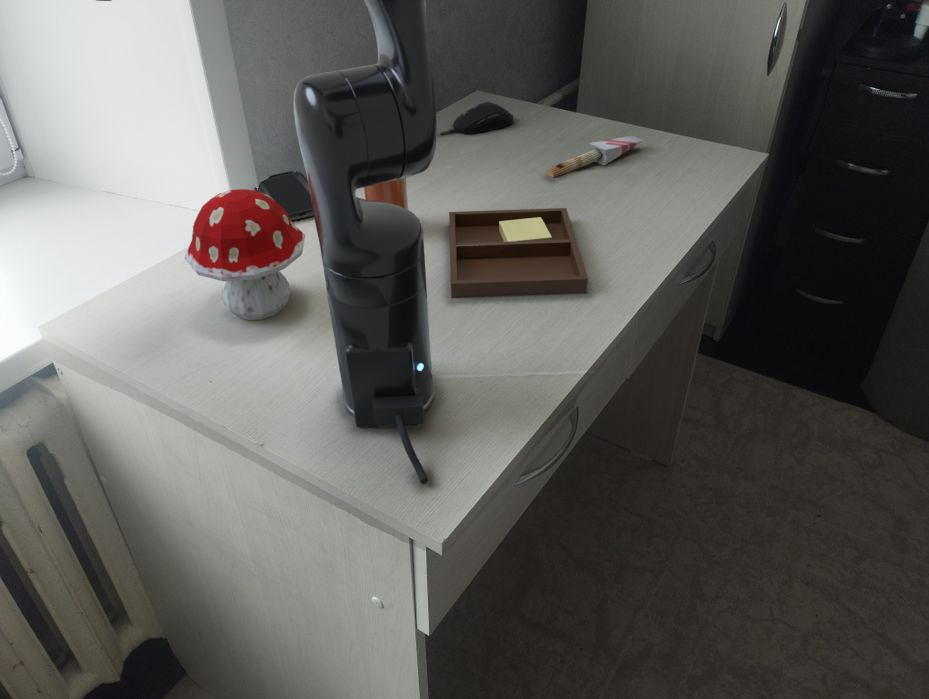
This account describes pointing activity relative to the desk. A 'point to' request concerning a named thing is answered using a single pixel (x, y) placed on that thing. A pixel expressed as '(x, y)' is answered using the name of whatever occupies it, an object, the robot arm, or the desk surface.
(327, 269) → the robot arm
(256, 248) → the decorative mushroom
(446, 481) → the desk surface
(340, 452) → the desk surface
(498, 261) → the tray
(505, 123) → the gaming mouse
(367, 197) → the pencil cup
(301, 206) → the phone
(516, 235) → the note pad
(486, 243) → the divider
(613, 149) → the wrapped churro
